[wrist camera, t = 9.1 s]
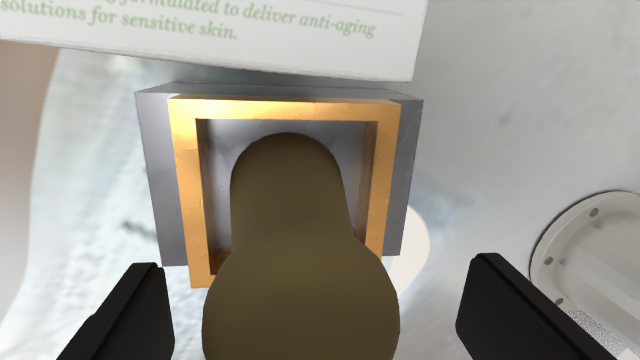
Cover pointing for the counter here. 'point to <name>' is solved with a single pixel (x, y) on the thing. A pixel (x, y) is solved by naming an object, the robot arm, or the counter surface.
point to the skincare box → (234, 33)
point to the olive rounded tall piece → (296, 265)
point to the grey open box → (253, 124)
